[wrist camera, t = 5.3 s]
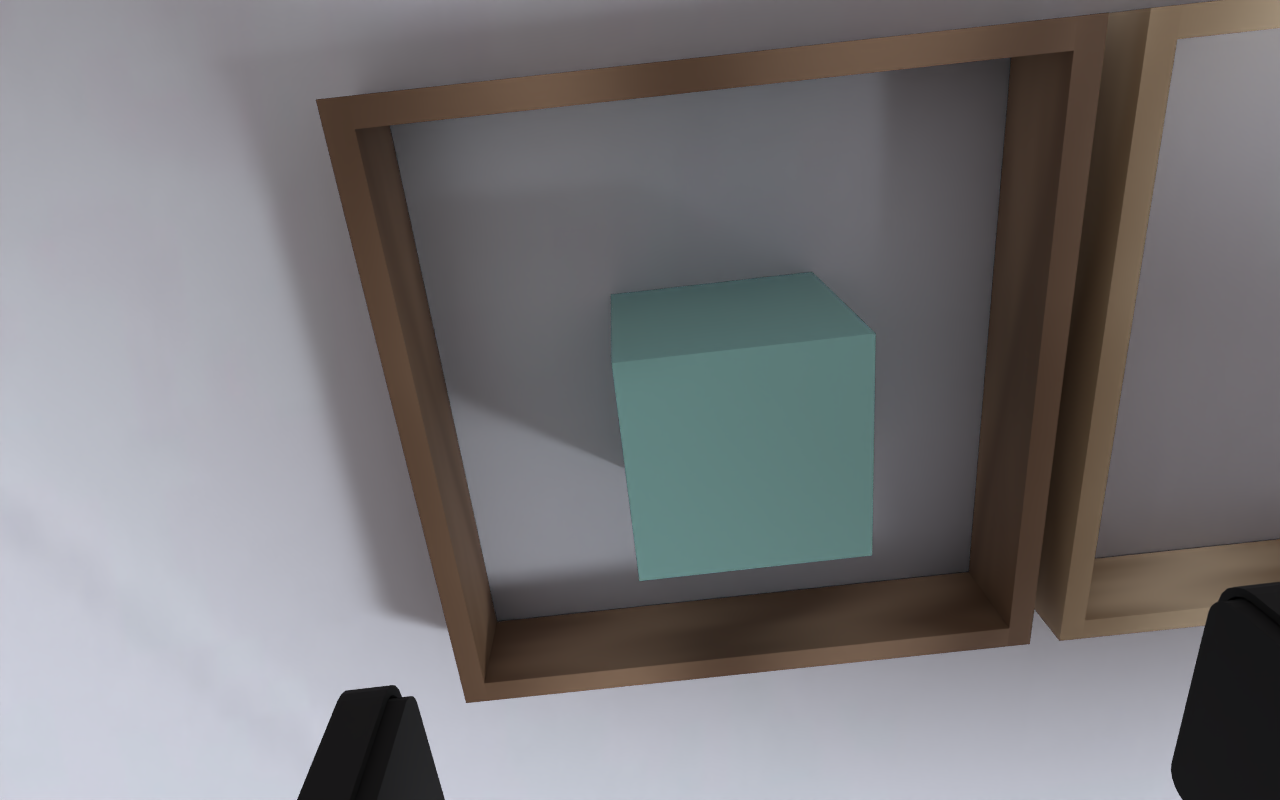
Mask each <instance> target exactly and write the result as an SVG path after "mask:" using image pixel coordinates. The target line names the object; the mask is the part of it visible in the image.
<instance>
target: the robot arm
mask: <svg viewBox="0 0 1280 800" xmlns="http://www.w3.org/2000/svg"><path fill="white" fill-rule="evenodd" d="M1171 773H1172V779H1173V782H1174V785H1175V787H1176V789H1177V791H1178V793H1179V795H1180V797H1181V798H1182V799H1183V800H1280V582H1272V583H1263V584H1255V585H1246V586H1238V587H1232V588H1227V589H1226V590H1225V591H1224V592H1223V593H1222V594H1221V596H1220V598H1219V600H1218V602H1216V603H1214V604H1213V605H1212V606H1211V607H1210V609H1209V612H1208V616H1207V620H1206V624H1205V628H1204V632H1203V636H1202V640H1201V644H1200V649H1199V653H1198V657H1197V661H1196V665H1195V669H1194V673H1193V677H1192V681H1191V686H1190V690H1189V694H1188V698H1187V702H1186V706H1185V710H1184V714H1183V719H1182V723H1181V727H1180V731H1179V735H1178V739H1177V743H1176V747H1175V751H1174V756H1173V760H1172V764H1171ZM297 800H445V799H444V795H443V792H442V788H441V785H440V781H439V778H438V774H437V771H436V767H435V764H434V760H433V757H432V753H431V750H430V746H429V743H428V739H427V736H426V732H425V729H424V725H423V722H422V718H421V715H420V711H419V708H418V704H417V702H416V699H415V698H414V697H413V696H409V697H402V696H401V694H400V691H399V689H398V688H397V687H396V686H394V685H390V686H381V687H373V688H364V689H356V690H347V691H345V692H343V693H342V694H341V696H340V697H339V699H338V701H337V703H336V706H335V708H334V711H333V713H332V716H331V718H330V720H329V723H328V725H327V728H326V730H325V733H324V735H323V738H322V740H321V743H320V745H319V747H318V750H317V752H316V755H315V757H314V760H313V762H312V765H311V767H310V769H309V772H308V774H307V777H306V779H305V782H304V784H303V787H302V789H301V791H300V794H299V796H298V799H297Z"/></svg>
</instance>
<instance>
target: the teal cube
mask: <svg viewBox="0 0 1280 800" xmlns="http://www.w3.org/2000/svg"><path fill="white" fill-rule="evenodd" d="M875 344H876V333H875V332H874V331H873V330H872V329H870V328H869V327H868V326H867V325H866V324H865V323H864V322H863V321H862V320H861V319H860V318H859V317H858V316H857V315H856V314H855V313H854V312H853V311H852V310H851V309H850V308H849V307H848V306H847V305H846V304H845V303H844V302H843V301H842V300H841V299H840V298H838V297H837V296H836V295H835V294H834V293H833V292H832V291H831V290H830V289H829V288H828V287H827V286H826V285H825V284H824V283H823V282H822V281H821V280H820V279H819V278H818V277H817V276H816V275H815V274H814V273H813V272H807V273H798V274H789V275H780V276H771V277H762V278H753V279H745V280H736V281H727V282H718V283H709V284H700V285H691V286H682V287H673V288H664V289H656V290H647V291H638V292H629V293H620V294H611V359H612V371H613V378H614V386H615V394H616V402H617V410H618V418H619V425H620V433H621V441H622V449H623V457H624V464H625V472H626V480H627V488H628V496H629V504H630V511H631V519H632V527H633V535H634V543H635V550H636V558H637V566H638V574H639V581H645V580H654V579H663V578H673V577H682V576H691V575H700V574H709V573H718V572H727V571H736V570H745V569H754V568H763V567H772V566H782V565H791V564H800V563H809V562H818V561H827V560H836V559H845V558H854V557H863V556H872V531H873V469H874V406H875Z"/></svg>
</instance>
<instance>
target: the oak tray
mask: <svg viewBox="0 0 1280 800" xmlns="http://www.w3.org/2000/svg"><path fill="white" fill-rule="evenodd" d="M1275 28H1280V0H1219V1H1210V2H1201V3H1191V4H1182V5H1173V6H1164V7H1155V8H1146V9H1138V10H1130V11H1122V12H1113V13H1109V18H1108V26H1107V34H1106V42H1105V49H1104V57H1103V65H1102V73H1101V81H1100V89H1099V97H1098V105H1097V113H1096V121H1095V129H1094V137H1093V145H1092V153H1091V161H1090V169H1089V177H1088V185H1087V193H1086V201H1085V209H1084V217H1083V224H1082V232H1081V240H1080V248H1079V256H1078V264H1077V272H1076V280H1075V288H1074V296H1073V304H1072V312H1071V320H1070V328H1069V336H1068V344H1067V352H1066V360H1065V368H1064V376H1063V384H1062V392H1061V399H1060V407H1059V415H1058V423H1057V431H1056V439H1055V447H1054V455H1053V463H1052V471H1051V479H1050V487H1049V495H1048V503H1047V511H1046V519H1045V527H1044V535H1043V543H1042V551H1041V559H1040V566H1039V574H1038V582H1037V590H1036V598H1035V606H1034V609H1035V610H1036V612H1037V613H1038V614H1039V615H1040V617H1041V618H1042V619H1043V621H1044V622H1045V623H1046V624H1047V626H1048V627H1049V628H1050V629H1051V631H1052V632H1053V633H1054V634H1055V636H1056V637H1057V638H1058V639H1059V641H1062V640H1072V639H1081V638H1091V637H1100V636H1110V635H1120V634H1129V633H1139V632H1148V631H1158V630H1167V629H1177V628H1186V627H1196V626H1205V624H1206V620H1207V616H1208V612H1209V609H1210V607H1211V606H1212V605H1213V604H1214V603H1216V602H1218V600H1219V598H1220V596H1221V594H1222V593H1223V592H1224V591H1225V590H1226V589H1227V588H1232V587H1238V586H1246V585H1255V584H1263V583H1272V582H1280V539H1277V540H1268V541H1258V542H1249V543H1239V544H1230V545H1220V546H1211V547H1201V548H1192V549H1182V550H1173V551H1163V552H1154V553H1144V554H1135V555H1125V556H1116V557H1106V558H1097V559H1095V553H1096V547H1097V540H1098V534H1099V528H1100V522H1101V515H1102V509H1103V503H1104V496H1105V490H1106V484H1107V478H1108V471H1109V465H1110V459H1111V452H1112V446H1113V440H1114V434H1115V427H1116V421H1117V415H1118V408H1119V402H1120V396H1121V390H1122V383H1123V377H1124V371H1125V364H1126V358H1127V352H1128V346H1129V339H1130V333H1131V327H1132V320H1133V314H1134V308H1135V301H1136V295H1137V289H1138V283H1139V276H1140V270H1141V264H1142V257H1143V251H1144V245H1145V239H1146V232H1147V226H1148V220H1149V213H1150V207H1151V201H1152V195H1153V188H1154V182H1155V176H1156V169H1157V163H1158V157H1159V151H1160V144H1161V138H1162V132H1163V125H1164V119H1165V113H1166V107H1167V100H1168V94H1169V88H1170V81H1171V75H1172V69H1173V62H1174V56H1175V50H1176V44H1177V39H1183V38H1192V37H1202V36H1211V35H1220V34H1229V33H1238V32H1247V31H1256V30H1266V29H1275Z"/></svg>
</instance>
